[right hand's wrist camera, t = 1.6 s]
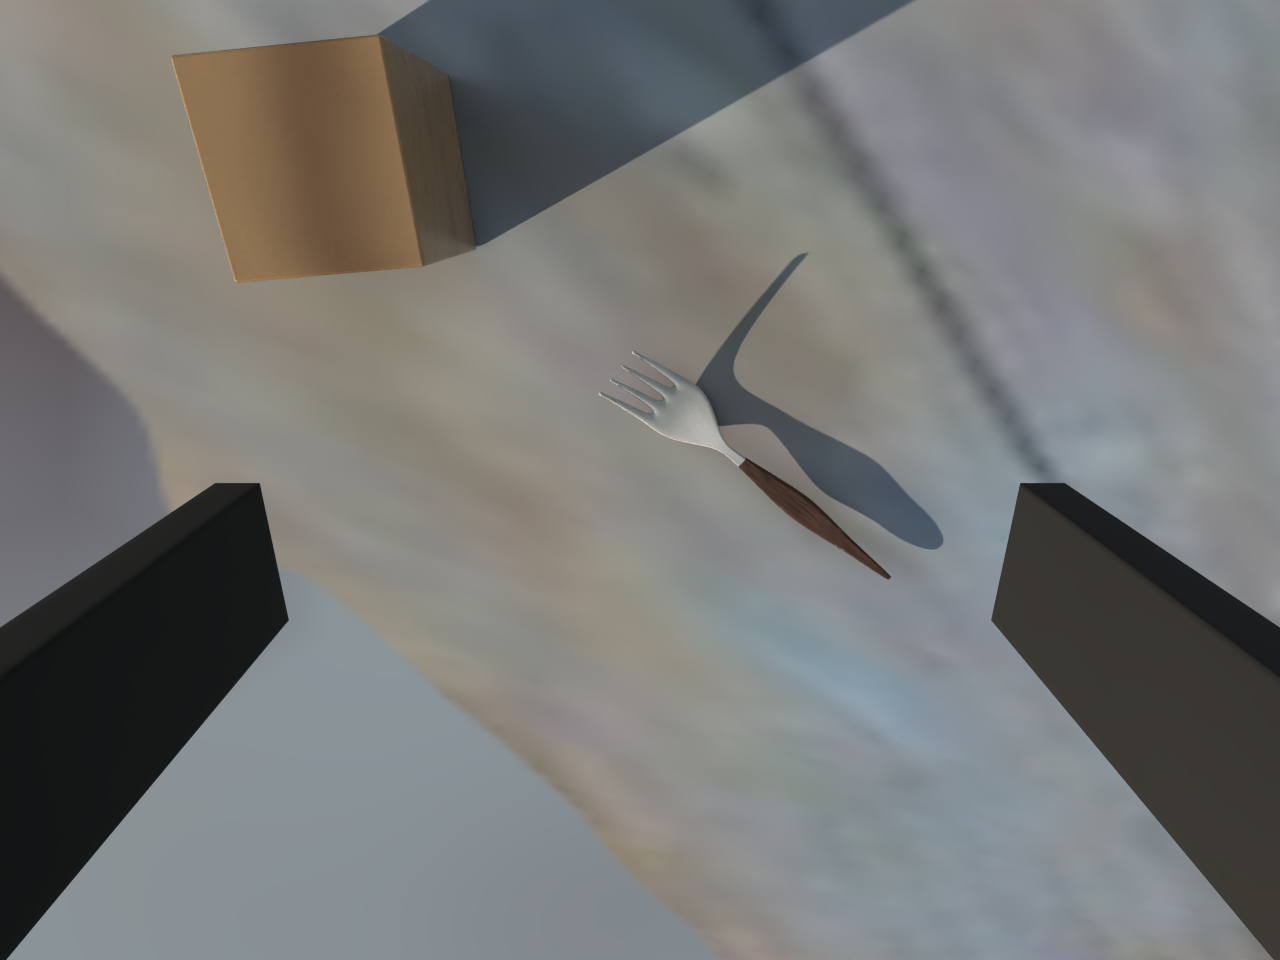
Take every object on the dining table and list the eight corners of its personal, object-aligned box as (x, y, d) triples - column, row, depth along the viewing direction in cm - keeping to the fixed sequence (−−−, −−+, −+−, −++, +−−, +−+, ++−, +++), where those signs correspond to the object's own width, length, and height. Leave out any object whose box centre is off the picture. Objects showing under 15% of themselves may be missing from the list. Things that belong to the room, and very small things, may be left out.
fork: (865, 591, 34) (878, 614, 32) (598, 385, 30) (595, 397, 28) (906, 553, 33) (922, 575, 31) (637, 336, 29) (636, 346, 27)
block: (329, 262, 29) (233, 283, 22) (288, 89, 26) (168, 54, 20) (477, 249, 28) (424, 266, 22) (448, 73, 26) (380, 33, 19)
